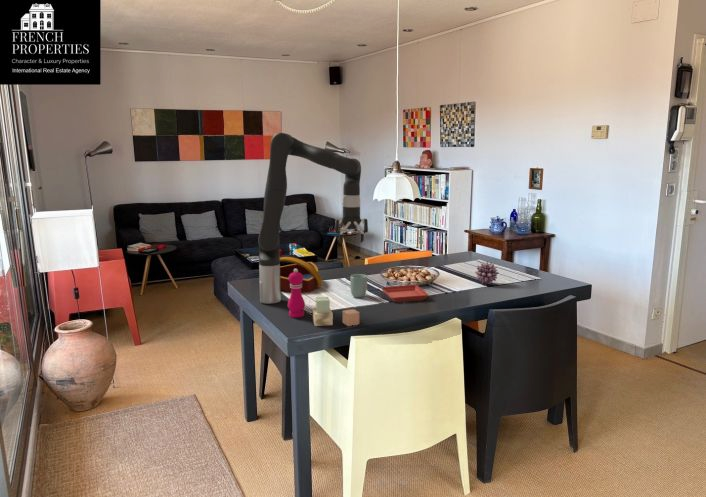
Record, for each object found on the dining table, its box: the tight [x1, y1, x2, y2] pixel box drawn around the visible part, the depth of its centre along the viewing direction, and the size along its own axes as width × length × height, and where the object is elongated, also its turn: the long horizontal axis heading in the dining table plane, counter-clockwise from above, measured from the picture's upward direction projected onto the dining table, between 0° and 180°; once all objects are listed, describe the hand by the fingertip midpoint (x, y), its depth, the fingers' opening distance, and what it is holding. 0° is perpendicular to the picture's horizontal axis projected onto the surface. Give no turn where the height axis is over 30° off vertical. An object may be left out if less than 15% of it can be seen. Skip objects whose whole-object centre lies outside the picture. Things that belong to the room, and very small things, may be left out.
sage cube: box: [315, 296, 331, 313], centre depth 212 cm, size 5×5×5 cm
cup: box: [349, 273, 368, 299], centre depth 250 cm, size 8×8×10 cm
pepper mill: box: [287, 269, 306, 319], centre depth 221 cm, size 7×7×20 cm
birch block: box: [312, 308, 334, 327], centre depth 213 cm, size 7×7×5 cm
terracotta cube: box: [342, 308, 360, 327], centre depth 212 cm, size 5×5×5 cm
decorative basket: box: [280, 256, 323, 294], centre depth 270 cm, size 34×29×15 cm
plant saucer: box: [380, 284, 430, 303], centre depth 251 cm, size 18×18×3 cm
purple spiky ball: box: [474, 261, 500, 285], centre depth 273 cm, size 12×12×12 cm
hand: (351, 242), depth 233 cm, fingers open, 8 cm apart
